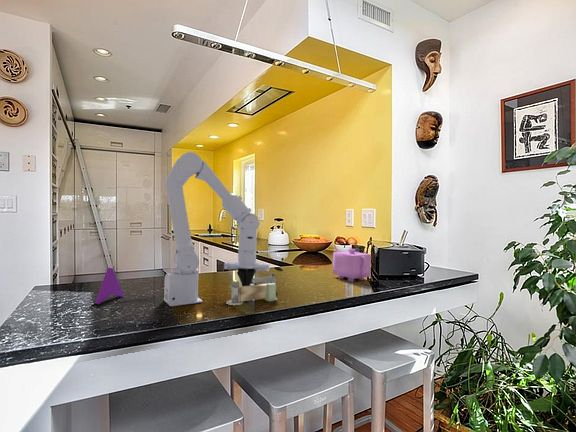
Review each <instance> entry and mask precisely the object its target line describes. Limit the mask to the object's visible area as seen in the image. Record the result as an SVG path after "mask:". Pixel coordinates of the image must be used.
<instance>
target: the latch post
mask: <svg viewBox="0 0 576 432" xmlns="http://www.w3.org/2000/svg"><path fill="white" fill-rule="evenodd" d="M276 293H277V283H276V284H275V283H271V284H267V298H264V300H265V301H267V302H274V301H277V300H278V298H277V295H276Z"/></svg>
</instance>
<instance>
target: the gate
mask: <svg viewBox="0 0 576 432" xmlns="http://www.w3.org/2000/svg"><path fill="white" fill-rule="evenodd" d="M267 284H271V283H266V284H264V283H261V284H250V286H242V285H241V286H239V292H238V300H239V301H243V302H248V301H252V300H253V301H254V300H260V299H265V298H267Z"/></svg>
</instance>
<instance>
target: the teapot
mask: <svg viewBox="0 0 576 432" xmlns="http://www.w3.org/2000/svg"><path fill="white" fill-rule="evenodd" d="M332 259H333V261H332V262H333V263H332V275H337V276H338V277H337V278H338V279H339V280H340V279H345V278H347V281H348V282H355V279H358V281H365V278H370V277H371V272H372V270H371V269H372V267H371V266H372V255H371V253H366V252H365V253H364V252H359V251H356V248H349V249H348V250H347V251H346V250H345V251H340V250H338V249H335V248H334V249H333V258H332Z"/></svg>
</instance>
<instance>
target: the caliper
mask: <svg viewBox="0 0 576 432" xmlns="http://www.w3.org/2000/svg"><path fill="white" fill-rule="evenodd" d="M251 283H263V284H266V283H275V284H276V285H277V280H276V276H275V272H273V273H270V274H269V276H263V277H253V279H252V281H251Z"/></svg>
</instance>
